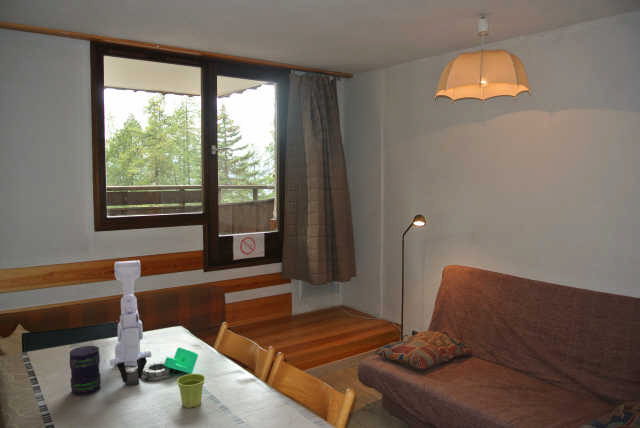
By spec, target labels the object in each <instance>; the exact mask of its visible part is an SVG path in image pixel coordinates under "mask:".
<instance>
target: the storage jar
mask: <svg viewBox="0 0 640 428" xmlns="http://www.w3.org/2000/svg"><path fill="white" fill-rule="evenodd" d="M100 357H101V356H100V347H99V346H95V345H86V346H79V347H76V348H74V349H72V350H70V351H69V368H70V373H71V374H70V375H71V377H70V389H71V391H70V392H71V394H72V396H74V397H86V396H90V395H93V394H95V393H98V392H99V391H100V390H101V386H102V385H101V382H102V380H101V371H100V362H101V360H100V359H101V358H100Z"/></svg>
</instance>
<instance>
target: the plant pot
mask: <svg viewBox="0 0 640 428" xmlns="http://www.w3.org/2000/svg"><path fill="white" fill-rule="evenodd" d="M205 381H206V377H205V375H203V374H201V373H200V374H199V373H187V374H185V375H182V376H180V377H178V378H177V380H176V384H177V385H178V389H179V392H180V398H181V403H182V404H181V405H182V406H183V408H188V409H190V408H193V407H194V408H196V407H199V406H200V405H201V403H202V396H203V387H204V383H205Z"/></svg>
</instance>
